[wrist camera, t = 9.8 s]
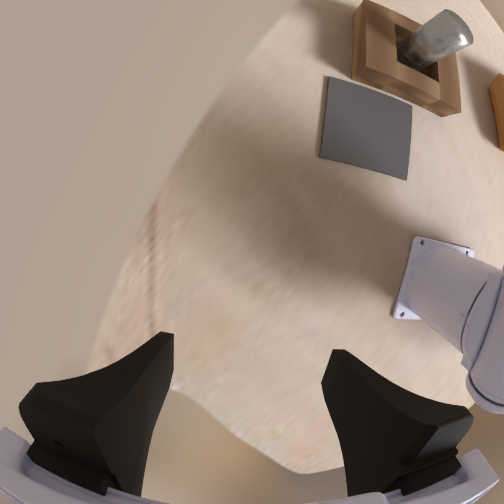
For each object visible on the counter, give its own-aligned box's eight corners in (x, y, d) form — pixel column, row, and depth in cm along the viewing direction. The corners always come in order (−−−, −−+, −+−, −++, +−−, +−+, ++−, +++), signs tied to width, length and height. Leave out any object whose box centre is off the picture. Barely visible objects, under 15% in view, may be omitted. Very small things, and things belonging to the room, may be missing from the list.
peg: (412, 56, 17) (469, 23, 8) (414, 81, 18) (476, 51, 9) (386, 44, 17) (439, 2, 8) (387, 69, 17) (446, 30, 9)
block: (437, 53, 17) (453, 44, 14) (441, 117, 18) (461, 112, 16) (353, 14, 16) (364, -2, 13) (351, 79, 18) (366, 66, 15)
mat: (410, 106, 18) (412, 105, 18) (404, 180, 20) (406, 180, 20) (328, 77, 18) (329, 76, 17) (319, 157, 19) (320, 156, 19)
